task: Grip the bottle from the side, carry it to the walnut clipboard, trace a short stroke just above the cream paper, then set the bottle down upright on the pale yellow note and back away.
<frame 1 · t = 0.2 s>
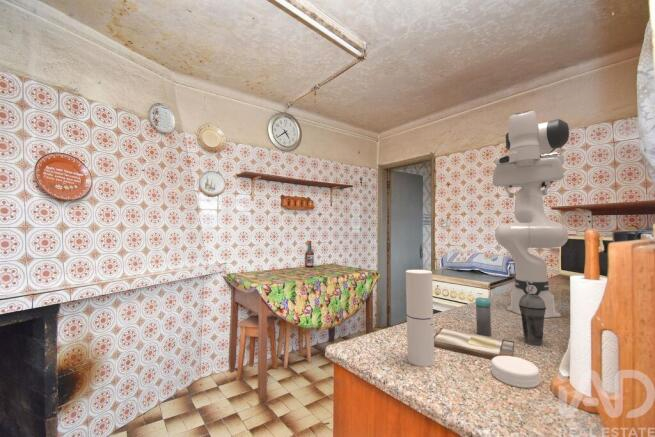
hand: (527, 196, 99), 48 cm above the countertop, tool pointing down, fingers open, 8 cm apart
cylindrical container: (420, 361, 80), on the countertop
coaster: (514, 378, 71), on the countertop
clipboard: (471, 345, 90), on the countertop
bottle: (483, 334, 99), on the countertop
beverage cup: (533, 343, 91), on the countertop
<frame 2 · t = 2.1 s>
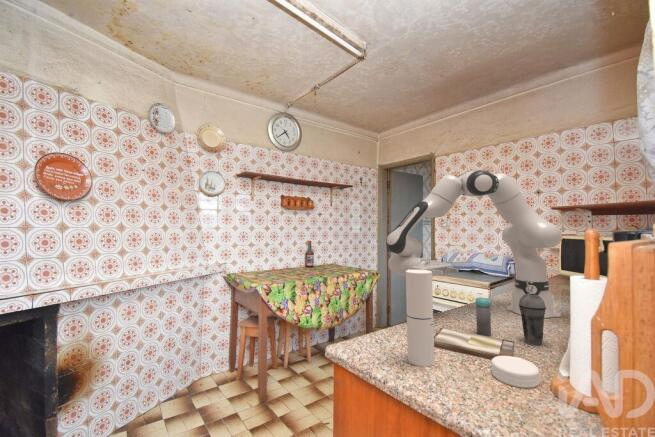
hand: (450, 272, 110), 20 cm above the countertop, tool horizontal, fingers open, 8 cm apart
nothing on the countertop moved.
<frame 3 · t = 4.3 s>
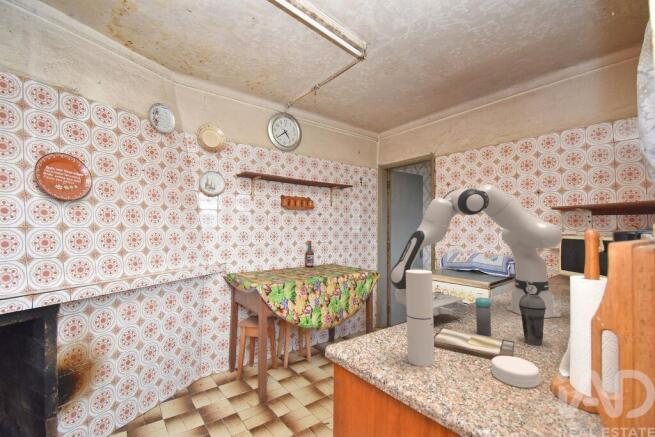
hand: (460, 310, 107), 6 cm above the countertop, tool horizontal, fingers open, 8 cm apart
nothing on the countertop moved.
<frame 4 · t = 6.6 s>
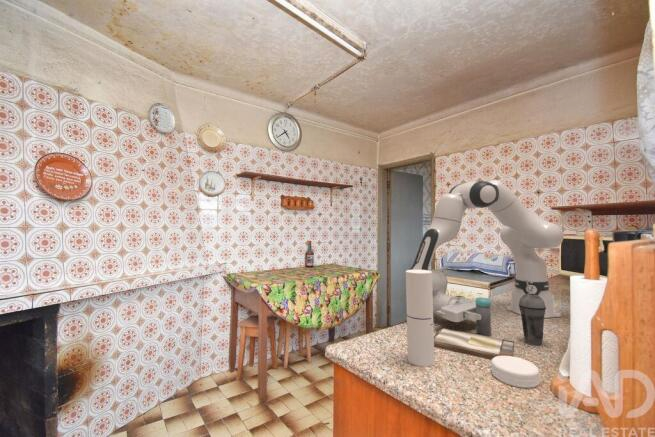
hand: (485, 315, 99), 7 cm above the countertop, tool horizontal, fingers closed on bottle, 4 cm apart
bottle: (483, 333, 99), on the countertop, touching gripper
everything else where it was.
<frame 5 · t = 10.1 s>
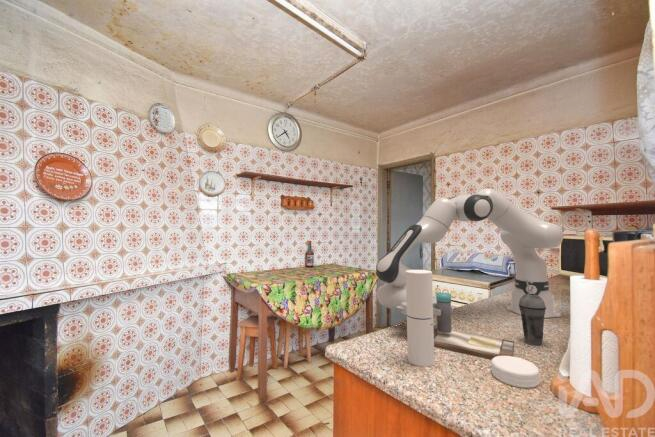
hand: (446, 311, 94), 10 cm above the countertop, tool horizontal, fingers closed on bottle, 4 cm apart
bottle: (444, 330, 95), point 3 cm above the countertop, touching gripper
everything else where it was.
when the fingers open (9 cm above the countertop, at t = 13.5 s): bottle stays where it is, resting on clipboard.
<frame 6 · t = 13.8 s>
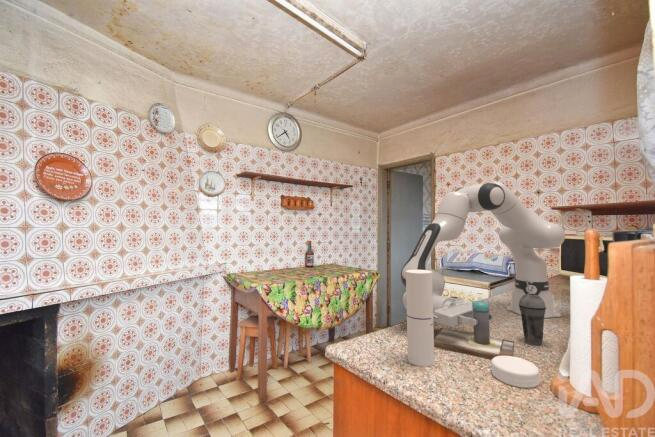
hand: (484, 319, 88), 9 cm above the countertop, tool horizontal, fingers open, 7 cm apart
bottle: (481, 341, 88), point 2 cm above the countertop, touching clipboard
everything else where it was.
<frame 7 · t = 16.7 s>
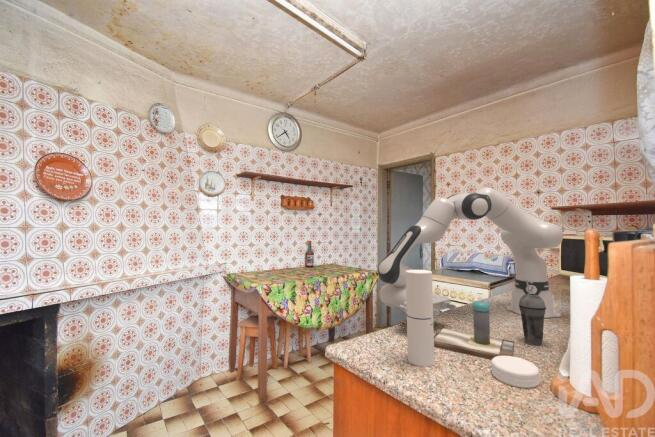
hand: (447, 310, 98), 9 cm above the countertop, tool horizontal, fingers open, 8 cm apart
nothing on the countertop moved.
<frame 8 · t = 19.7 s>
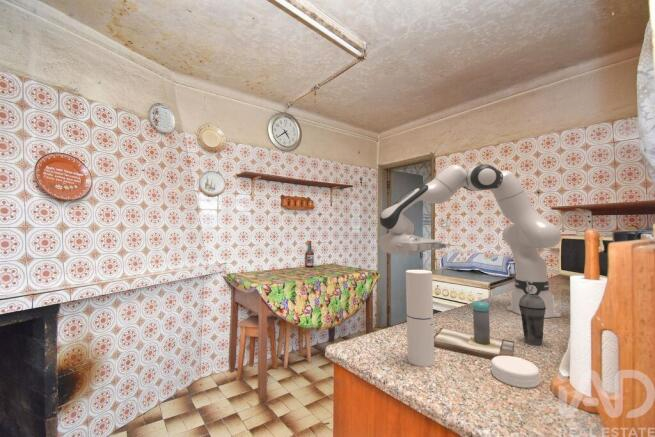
hand: (438, 246, 111), 30 cm above the countertop, tool horizontal, fingers open, 8 cm apart
nothing on the countertop moved.
at the end: bottle inside the target area on the clipboard (0.1 cm from its centre), point 1.7 cm above the clipboard's base; bottle tilted 0°; the gripper is holding nothing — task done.
